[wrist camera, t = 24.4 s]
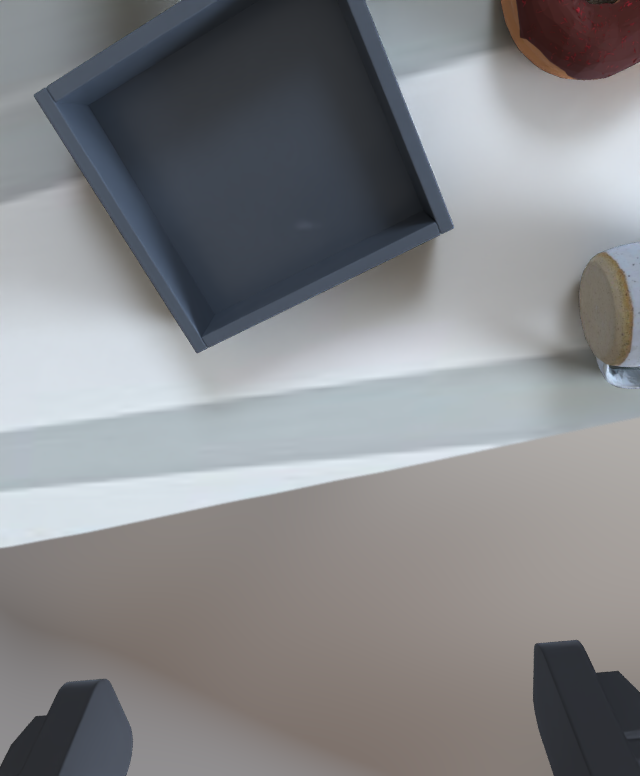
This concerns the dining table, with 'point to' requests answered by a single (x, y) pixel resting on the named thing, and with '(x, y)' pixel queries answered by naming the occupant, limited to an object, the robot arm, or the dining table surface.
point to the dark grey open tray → (249, 155)
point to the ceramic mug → (613, 312)
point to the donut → (576, 35)
